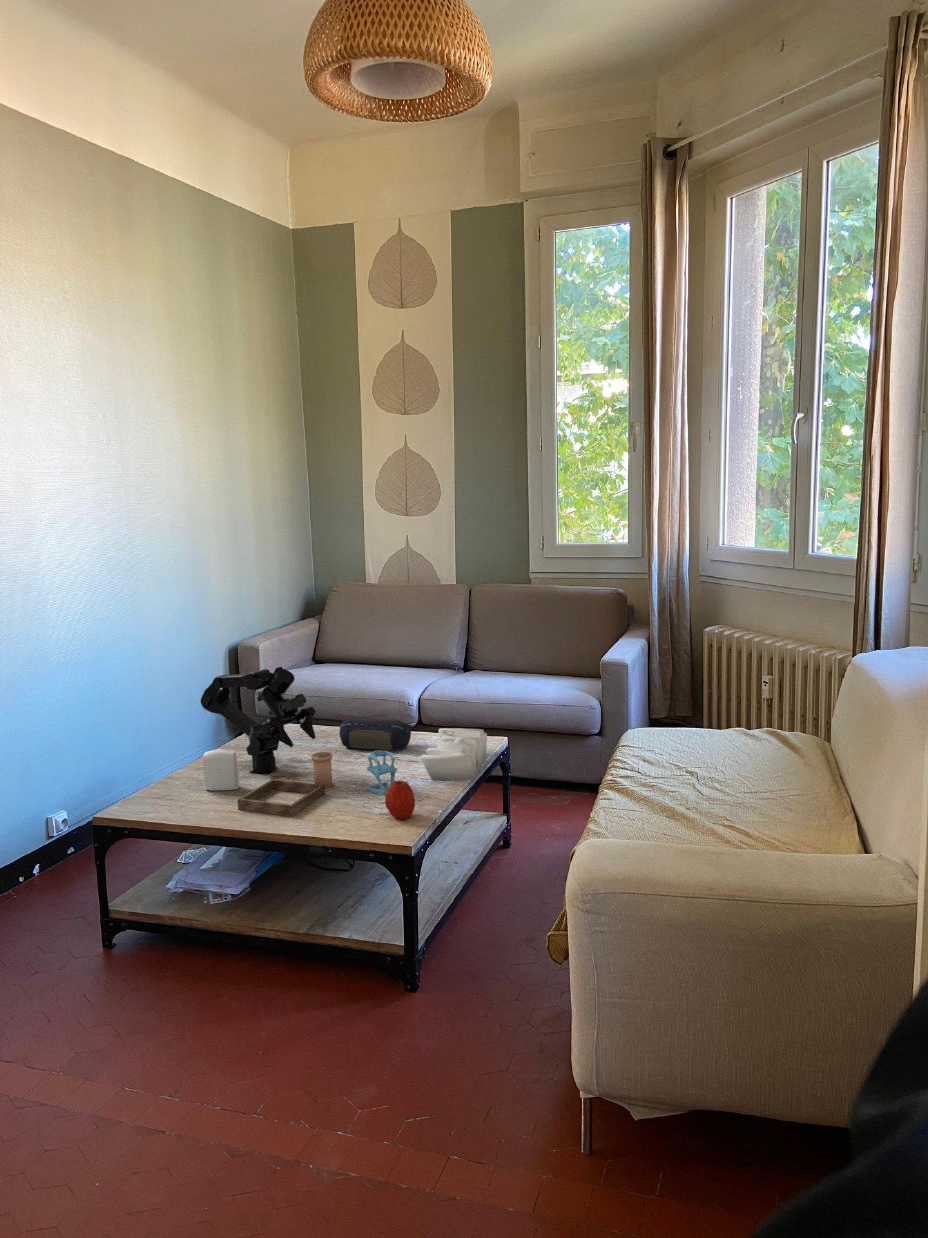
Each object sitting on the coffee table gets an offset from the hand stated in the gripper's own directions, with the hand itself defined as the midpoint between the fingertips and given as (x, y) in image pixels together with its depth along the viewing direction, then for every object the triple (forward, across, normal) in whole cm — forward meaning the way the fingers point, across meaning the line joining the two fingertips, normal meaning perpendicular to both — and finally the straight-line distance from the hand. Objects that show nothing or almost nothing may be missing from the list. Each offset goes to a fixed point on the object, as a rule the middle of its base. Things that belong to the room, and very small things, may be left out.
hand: (303, 742), depth 274 cm
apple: (+40, -6, -21) cm, 46 cm away
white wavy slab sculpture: (+32, +36, -13) cm, 50 cm away
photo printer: (-4, -18, +21) cm, 28 cm away
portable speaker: (+6, +37, +12) cm, 39 cm away
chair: (+27, +7, -9) cm, 29 cm away
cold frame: (+14, -16, +4) cm, 21 cm away
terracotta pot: (+14, 0, +4) cm, 15 cm away
